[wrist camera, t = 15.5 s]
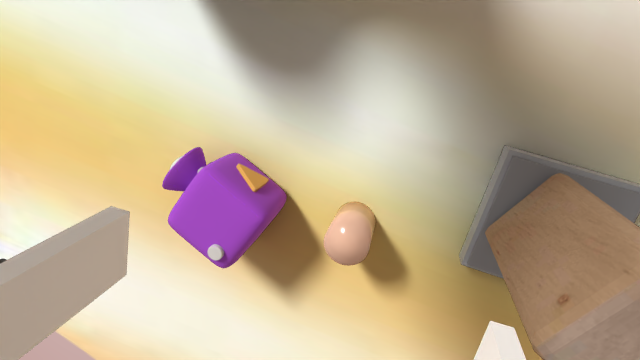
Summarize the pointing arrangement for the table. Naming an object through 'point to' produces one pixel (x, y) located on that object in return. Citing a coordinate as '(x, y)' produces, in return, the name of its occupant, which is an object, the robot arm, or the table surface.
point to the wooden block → (571, 272)
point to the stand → (523, 178)
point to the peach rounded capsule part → (350, 234)
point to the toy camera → (221, 204)
